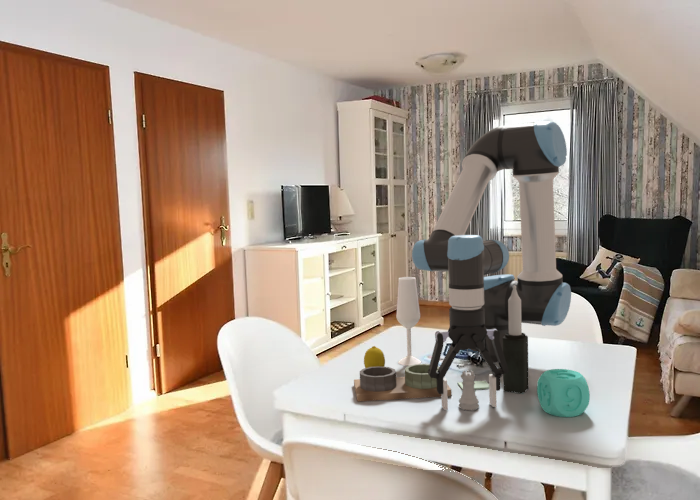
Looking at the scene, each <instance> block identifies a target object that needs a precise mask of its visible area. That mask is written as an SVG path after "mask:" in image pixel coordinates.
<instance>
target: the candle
mask: <svg viewBox="0 0 700 500" xmlns="http://www.w3.org/2000/svg"><path fill="white" fill-rule="evenodd" d="M508 317H509V332H507V333H506V334H505V336H504V337H503V353H504V356H505V360H506V363H507V366H508V369H509V372H508V373H507V374H502V378H503V379H502V380H503V381H502V384H503V388H502V389H503V391H504V392H506V393H512V394H513V393H515V394H525V393H526V392H527V390H529V388H530V387H529V336H528V335H526V333H525V332H522V330H523V329H522V323H521V299H520V298H519V296H518V294H517V290H516V286H515V285H514V286H513V291H512V294H511V296H510V298H509V299H508Z"/></svg>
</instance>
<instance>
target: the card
mask: <svg viewBox="0 0 700 500" xmlns="http://www.w3.org/2000/svg"><path fill="white" fill-rule="evenodd" d="M462 382H463V381H460V382H459V381H457V385H458V386H459V388H461V390H462V391H463V384H462ZM474 382H475V384H474V391H475V390H477V391H478V390H489V382H487V381H486V380H474Z"/></svg>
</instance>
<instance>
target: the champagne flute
mask: <svg viewBox="0 0 700 500" xmlns="http://www.w3.org/2000/svg"><path fill="white" fill-rule="evenodd" d="M397 282H398V285H397V298H396V299H397V301H396V320H397V321H398V323H399V324H400V325H401V326H402V327H403V328H405V329H406V347H407V348H406V351H407V355H406V356H405V357H403V358H401V359H400V360H399V361H397V363H398V364H399V365H402V366H407V367H408V366H411V365H415V364H422V361H421V360H420V359H418V358H417V357H415V356H413V354H412V331H411V329H412V328H414V327H415V326H416V325H417V324H418V322H419V321H420V319H421V311H420V304H419V303H420V301H419V295H418V288H417V287H418V286H417V280H416V277H414V276H413V277H412V276H402V277H398V281H397Z"/></svg>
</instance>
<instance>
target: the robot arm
mask: <svg viewBox="0 0 700 500" xmlns="http://www.w3.org/2000/svg"><path fill="white" fill-rule="evenodd" d="M567 151H568V150H567V143H566V139H565V135H564V133H563V131H562V129H561V127H560V125H558V124H557V123H556V122H554V121H549V120H547V121H539V120H538V121H535V122H534V121H533V122H527V123H526V122H525V123H518V124H511V125H500V126H497V127H494V128H492V129H490V130H489V131H487V132H485V133H484V134H482V135H481V136H480V137H479V138H478V139H477V140H476V141H474V143H473V144H471V146H470V148H469V149H468V150H467V152H466V154H465V155H464V158H463V160H462V162H461V167H462V170H461V172H460V174H459V176H458V179H457V181H456V183H455V185H454V187H453V188H452V191H451V193H450V195H449V196H448V199H447V201H446V203H445V205H444V206H443V207H444V208H443V209H442V211H441V214H440V215H439V217H438V220H437V221H436V223H435V226H434V228H433V229H432V232H431V234H430V235H429V237H428V239H425V238H424V239H419V240H418V241H416V242H415V243H414V245H413V247H412V252H411V258H412V263H413V264H414V266H415V267H416V269H418V270H421V271H427V272H432V273H433V272H445V273H448V304H449V306H451V307H449V308H448V313H449V316H448V317H449V328H448V330H447V331H441V332H440V331H435V334H434V337H435V343H434V348H433V351H432V354H431V359H430V363H429V364H430V365H429V369H428V374H429V376H430V377H431V378H436V382H437V392H438V393H439V394H441V407H442V409H443V410H444V411H447V410H448V409H449V406H448V405H449V404H448V403H449V402H448V400H449V399H448V396H447V384H448V380H447V378H446V377H445V376H446V375H447V372H448V371H449V369H450V368H451V365H452V363H453V362H454V361H455V358H456V357H457V355H458V354H459V352H460V351H466V350H468V349H471V350H473V351H478V352H480V354H481V355H482V357H483V358H484V360H485V361H484V362H486V365H487V366H488V368H489V369H490V370H491V372H492V373H489V374H488V384H489V389H488V392H489V393H488V398H489V404H490V405H491V407H493V408H497V392H498V391H499V392H500V390H501V378H503V374H507V373H508V372H509V369H508V366H507V363H506V360H505V356H504V353H503V337H504V336H505V334H506V333H507V332H509V317H508V299H509V298H510V296H511V294H512V291H513V286H514V285H515V286H516V290H517V294H518V296H519V298H520V299H521V324H530V325H540V326H543V327H546V326H552V327H556V326H560V325H561V324H562V323H563V322H564V321H565V319H566V318H567V316H568V313H569V310H570V307H571V302H572V301H571V300H572V290H571V285H570V284H569V283H567V282H563V274H562V273H561V272H560V271H559V270H558V269H557V255H556V252H557V251H556V229H555V228H556V227H555V201H554V199H555V198H554V195H555V194H554V179H555V178H556V177H557V176H558V175H559V173H560V170H559V169H560V168H561V167H562V166H564V165H565V163H566V161H567V156H568V152H567ZM559 167H560V168H559ZM502 170H512V177H513V178H514V179H515V180H517V182H518V191H519V208H520V209H519V211H520V212H519V213H520V233H521V236H520V237H521V254H522V256H521V259H522V260H521V261H522V270H521V272H520V273H519V274H518V275H517V278H516V279H517V280H516V279H515V275H514V274H512V273H511V274H510V273H509V274H508V273H506V274H496V275H490V274H495V273H497V272H499V271H501V270H503V269H504V268H505V267H506V266H507V265H508V263H509V260H510V253H509V249H508V248H507V245H506V244H504V243H503V242H502V241H500V240H497V239H486V240H484V239H483V237H482V236H481V235H479V234H466V232H467V229H468V228H469V225H470V223H471V222H472V219H473V216H474V214H475V212H476V210H477V208H478V206H479V204H480V201H481V199H482V198H483V195H484V193H485V190H486V188H487V187H488V184H489V182H490V181H492V180H493V179H494V178H495V177H496V175H497V174H498V172H499V171H502ZM485 275H489V276H485ZM448 338H449V339H450V341H452V342H451V344H450V346H449V349H448V351H447V353H446V354H445V356H444V358H443V360H442V362H441V363H440V359H441V356H442V353H443V352H442V351H443V348H444V343H446V341H447V339H448ZM439 363H440V364H439ZM496 363H498V365H499V367H497V365H496ZM438 366H439V369H438V371H437V367H438ZM436 371H437V372H436Z"/></svg>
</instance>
